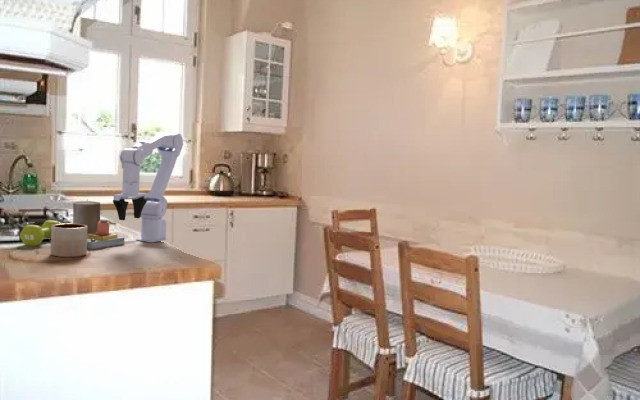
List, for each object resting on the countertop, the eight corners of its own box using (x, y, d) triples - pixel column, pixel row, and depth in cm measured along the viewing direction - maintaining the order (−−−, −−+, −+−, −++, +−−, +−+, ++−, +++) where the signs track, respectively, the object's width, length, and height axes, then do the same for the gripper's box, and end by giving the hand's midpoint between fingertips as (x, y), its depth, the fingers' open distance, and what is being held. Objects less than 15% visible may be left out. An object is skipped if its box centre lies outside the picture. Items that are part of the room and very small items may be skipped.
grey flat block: (101, 240, 208) (102, 230, 207) (124, 244, 203) (124, 234, 203) (62, 246, 191) (62, 236, 191) (85, 250, 187) (86, 240, 187)
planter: (93, 253, 185) (93, 224, 184) (75, 259, 174) (76, 229, 173) (62, 250, 186) (63, 222, 185) (43, 256, 175) (43, 226, 174)
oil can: (101, 235, 203) (103, 219, 202) (111, 237, 201) (112, 220, 201) (94, 237, 199) (95, 219, 198) (103, 238, 198) (104, 221, 197)
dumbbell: (43, 238, 205) (44, 219, 204) (64, 240, 204) (65, 220, 203) (17, 245, 188) (17, 225, 188) (39, 247, 188) (40, 226, 187)
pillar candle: (103, 236, 215) (104, 198, 214) (94, 240, 206) (95, 200, 204) (78, 235, 215) (78, 197, 213) (68, 239, 205) (68, 199, 204)
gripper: (136, 180, 207) (135, 216, 208) (107, 181, 193) (106, 219, 195) (151, 182, 204) (149, 218, 205) (122, 183, 191) (121, 221, 192)
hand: (129, 219), depth 200 cm, fingers open, 7 cm apart
